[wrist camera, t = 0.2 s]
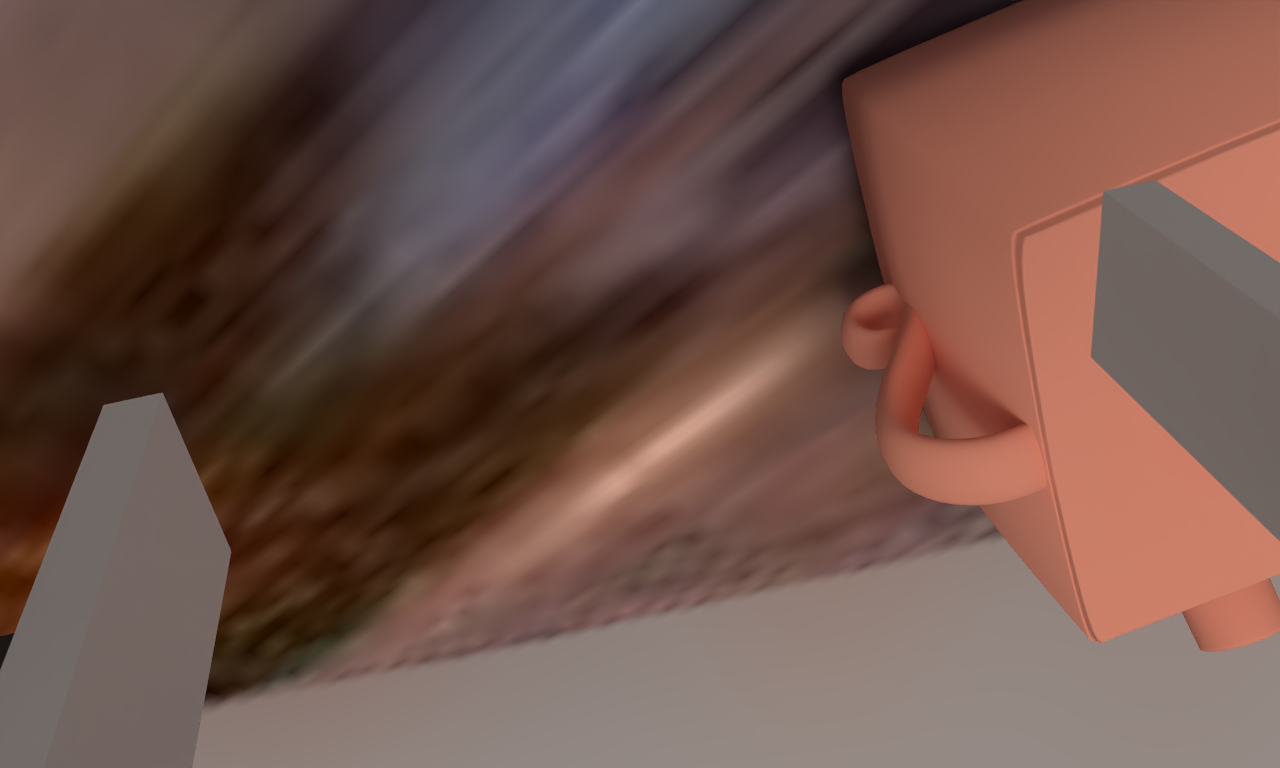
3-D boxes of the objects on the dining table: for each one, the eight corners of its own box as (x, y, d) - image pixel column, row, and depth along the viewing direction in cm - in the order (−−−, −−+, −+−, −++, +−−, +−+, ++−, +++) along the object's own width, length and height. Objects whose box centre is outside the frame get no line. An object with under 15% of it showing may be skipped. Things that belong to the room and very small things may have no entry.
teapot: (1312, 388, 56) (1650, 651, 41) (872, 565, 57) (1046, 887, 42) (1295, -142, 42) (1789, -40, 27) (717, 99, 43) (892, 328, 28)
